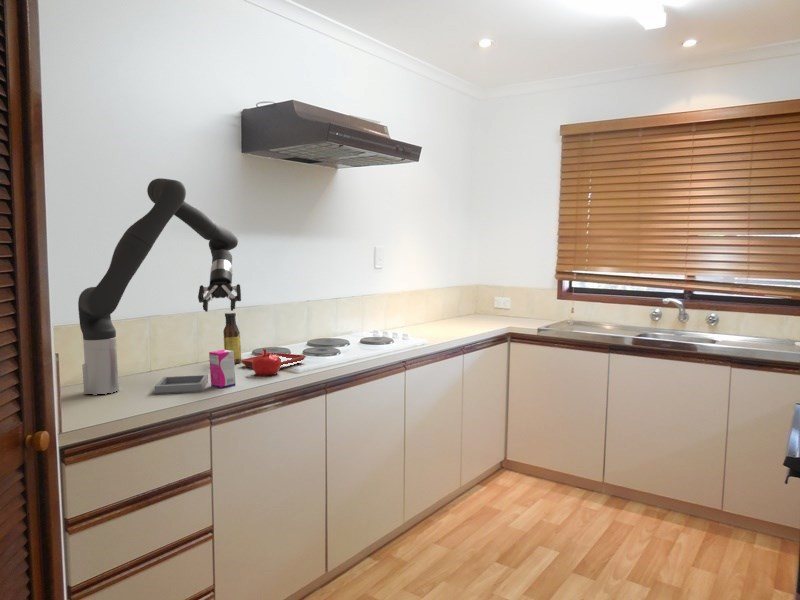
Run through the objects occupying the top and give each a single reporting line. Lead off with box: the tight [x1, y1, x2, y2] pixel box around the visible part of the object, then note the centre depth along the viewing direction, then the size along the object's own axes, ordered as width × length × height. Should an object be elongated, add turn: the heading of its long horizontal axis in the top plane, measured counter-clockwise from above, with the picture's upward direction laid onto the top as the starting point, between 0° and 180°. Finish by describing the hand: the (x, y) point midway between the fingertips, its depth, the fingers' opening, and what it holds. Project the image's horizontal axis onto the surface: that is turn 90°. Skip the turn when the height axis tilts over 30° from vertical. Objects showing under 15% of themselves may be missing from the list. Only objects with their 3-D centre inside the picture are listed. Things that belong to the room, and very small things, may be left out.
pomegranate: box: [251, 348, 281, 377], centre depth 210 cm, size 10×10×9 cm
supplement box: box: [208, 349, 236, 389], centre depth 193 cm, size 6×6×12 cm
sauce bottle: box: [223, 311, 242, 365], centre depth 232 cm, size 7×6×20 cm
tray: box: [153, 374, 209, 395], centre depth 191 cm, size 14×14×2 cm
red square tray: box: [240, 352, 307, 368], centre depth 228 cm, size 18×18×3 cm
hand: (219, 309), depth 204 cm, fingers open, 8 cm apart
